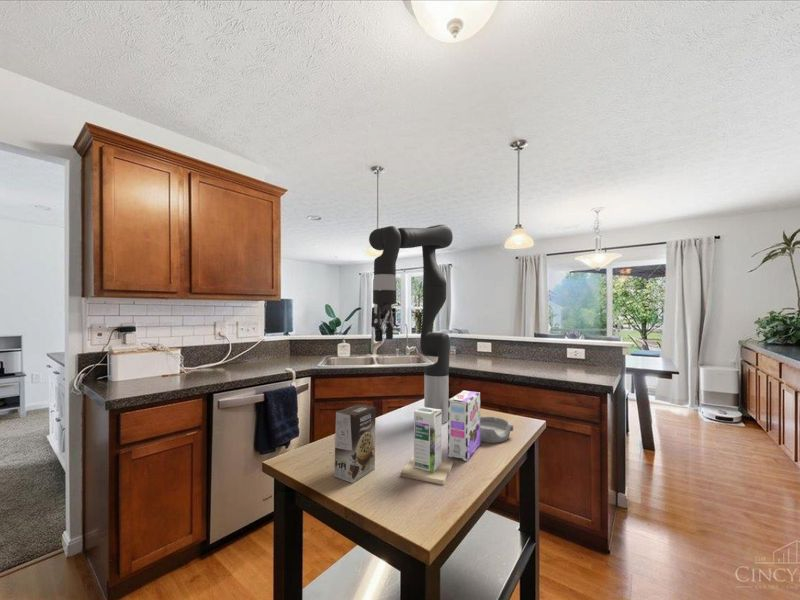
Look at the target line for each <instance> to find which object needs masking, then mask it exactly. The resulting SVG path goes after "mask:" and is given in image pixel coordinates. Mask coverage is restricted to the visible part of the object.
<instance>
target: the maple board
mask: <svg viewBox="0 0 800 600" xmlns="http://www.w3.org/2000/svg"><path fill="white" fill-rule="evenodd" d="M453 466H454V461H453V460H447V459H442V458H441V465H440V466H439V467H438V468H437V469H436V470H435V471H434V472H433V473H432V472H429V471H426V470H422V469H418V468H414V455H413V456H412V457H411V458H410V460H409V461H408V462H407V463H406V465H405V466H404V467H403V469H402V470H401V471H400V477H401V478H407V479H411V480H416V481H422V482H428V483H433V484H437V485H438V484H439V485H442V486H443V485H445V483H446V481H447V479H448V477H449V474H450V472H451V470H452V468H453Z"/></svg>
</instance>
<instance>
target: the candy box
mask: <svg viewBox="0 0 800 600" xmlns="http://www.w3.org/2000/svg"><path fill="white" fill-rule="evenodd" d="M480 417H481V392H480V391H479V392H478V391H472V390H471V391H470V390H462V391H460V392H459V393H457V394H456V395H453V396H452V397H451V398H449V400H448V421H447V424H448V425H447V457H448V458H452V459H456V460H461V461H463V462H468V460H470V458H471V457H472V456H473V454H475V452H476V451H477V449H479V447H480V446H481V441H480Z"/></svg>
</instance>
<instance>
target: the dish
mask: <svg viewBox="0 0 800 600" xmlns="http://www.w3.org/2000/svg"><path fill="white" fill-rule="evenodd" d="M513 431H514V423H510V422H509V421H508V420H506V419H504V418H502V417H496V416H480V443H481V442H482V443H489V444H495V443H501V442H505V441H507V440H508V439H509V438H510V435H511V432H513Z"/></svg>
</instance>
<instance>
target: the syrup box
mask: <svg viewBox="0 0 800 600" xmlns="http://www.w3.org/2000/svg"><path fill="white" fill-rule="evenodd" d="M442 425H443V423H442V409H433V408H426V407H424V406H422V407H419V408H417V409H416V410H414V411H413V456H414V468H418V469H422V470H426V471H429V472H432V473H433V472H434V471H435V470H436V469H437V468H438V467H439V466H440V465H441V459H442V429H443V428H442Z"/></svg>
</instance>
